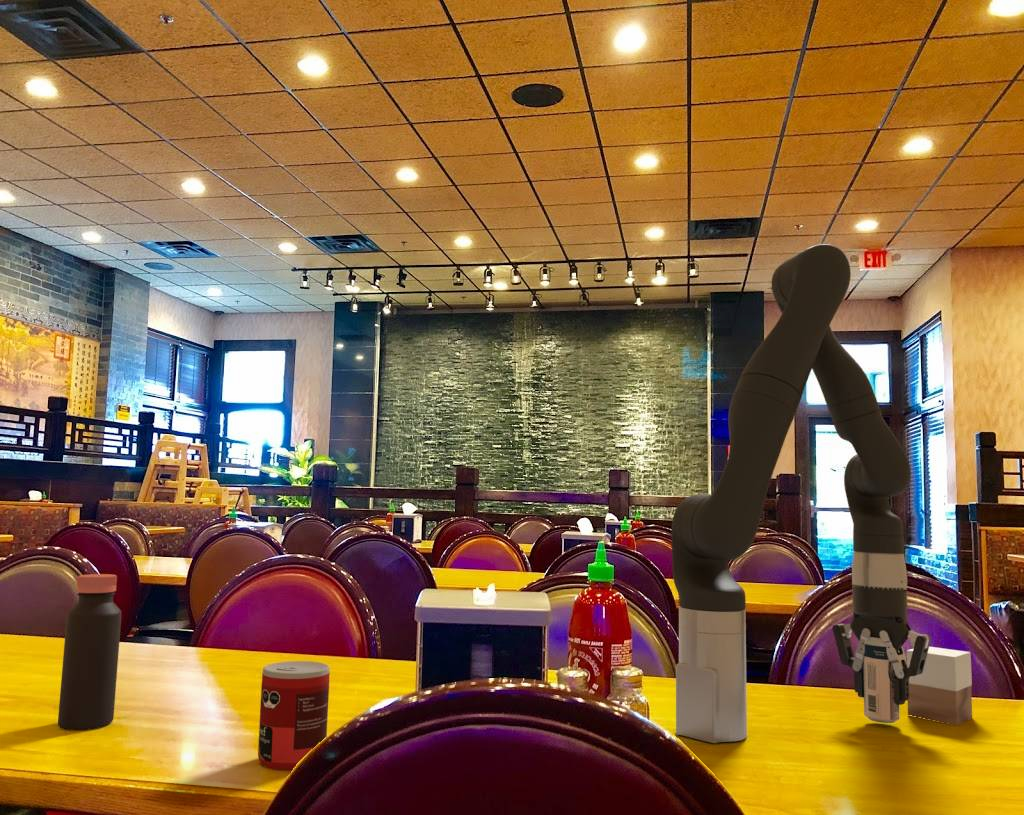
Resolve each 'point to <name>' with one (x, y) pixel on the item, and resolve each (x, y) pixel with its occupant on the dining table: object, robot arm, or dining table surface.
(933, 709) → the tower base
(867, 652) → the beer can
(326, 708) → the canned food
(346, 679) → the dining table surface
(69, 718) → the bottle
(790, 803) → the dining table surface
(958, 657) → the tower top
